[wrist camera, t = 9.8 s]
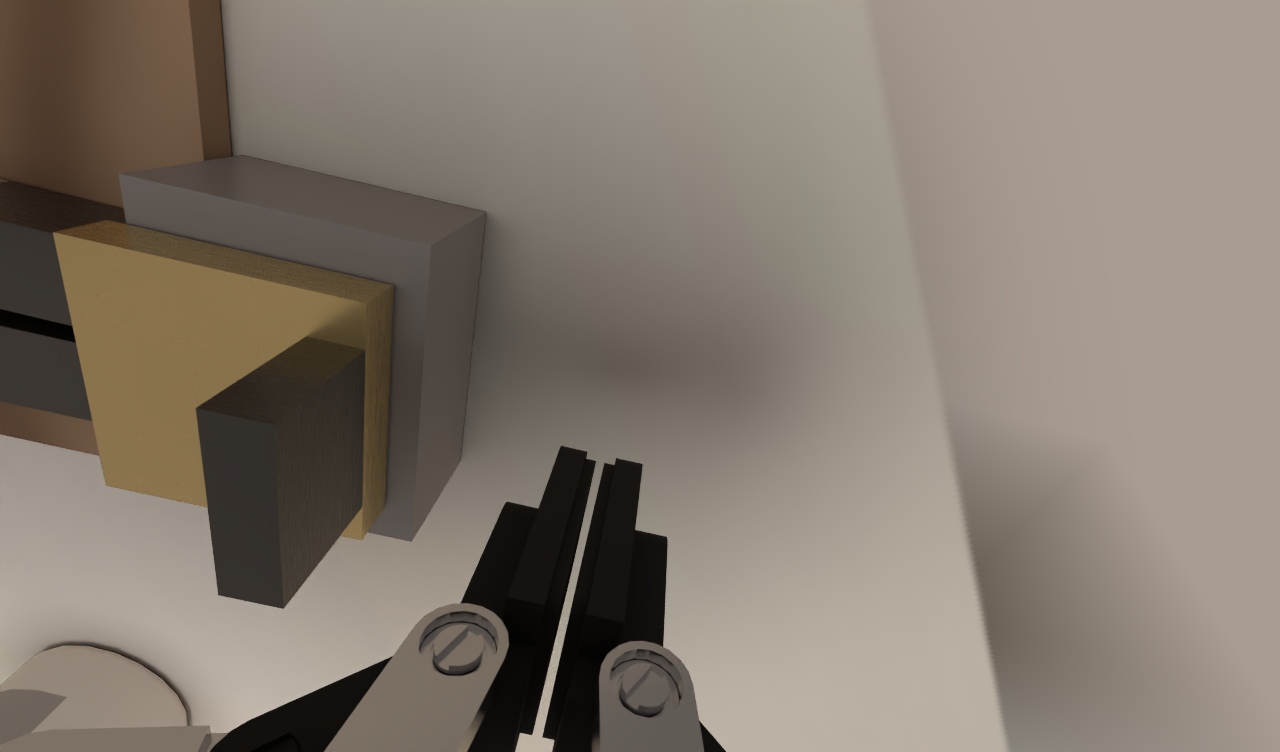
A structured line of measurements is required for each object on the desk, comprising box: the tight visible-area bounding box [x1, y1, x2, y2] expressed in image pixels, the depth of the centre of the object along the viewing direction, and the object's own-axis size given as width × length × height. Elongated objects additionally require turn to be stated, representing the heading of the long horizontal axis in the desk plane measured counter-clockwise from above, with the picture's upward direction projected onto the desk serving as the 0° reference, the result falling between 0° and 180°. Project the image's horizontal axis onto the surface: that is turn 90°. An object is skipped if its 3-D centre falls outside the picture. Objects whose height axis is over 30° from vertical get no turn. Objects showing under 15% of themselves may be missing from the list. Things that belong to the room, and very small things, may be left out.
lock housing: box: [118, 155, 486, 542], centre depth 16 cm, size 6×8×4 cm
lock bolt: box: [53, 220, 393, 609], centre depth 12 cm, size 6×6×4 cm
